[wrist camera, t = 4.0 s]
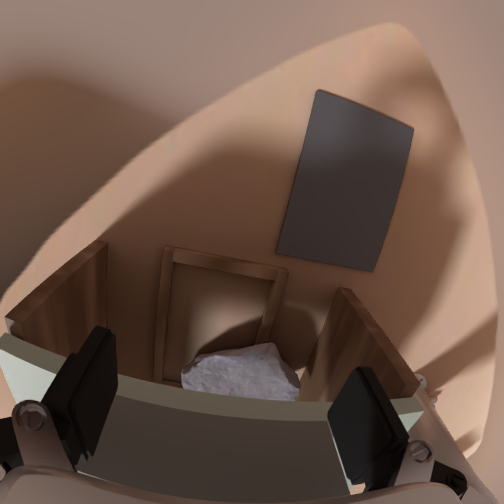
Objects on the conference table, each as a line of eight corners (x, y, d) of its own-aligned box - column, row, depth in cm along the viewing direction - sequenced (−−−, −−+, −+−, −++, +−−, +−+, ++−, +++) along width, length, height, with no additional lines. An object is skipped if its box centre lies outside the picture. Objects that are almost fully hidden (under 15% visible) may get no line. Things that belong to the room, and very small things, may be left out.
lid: (415, 396, 16) (455, 462, 10) (332, 489, 21) (345, 538, 14) (5, 332, 12) (-49, 397, 6) (54, 451, 17) (36, 501, 11)
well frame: (353, 281, 30) (428, 373, 16) (266, 460, 41) (275, 531, 27) (95, 231, 26) (1, 303, 12) (112, 436, 38) (93, 506, 23)
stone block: (176, 356, 32) (218, 413, 34) (166, 376, 27) (214, 437, 29) (265, 315, 32) (301, 380, 33) (268, 333, 27) (308, 403, 28)
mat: (411, 129, 25) (413, 129, 24) (371, 271, 30) (372, 272, 29) (316, 91, 23) (317, 90, 23) (275, 251, 28) (276, 253, 28)
